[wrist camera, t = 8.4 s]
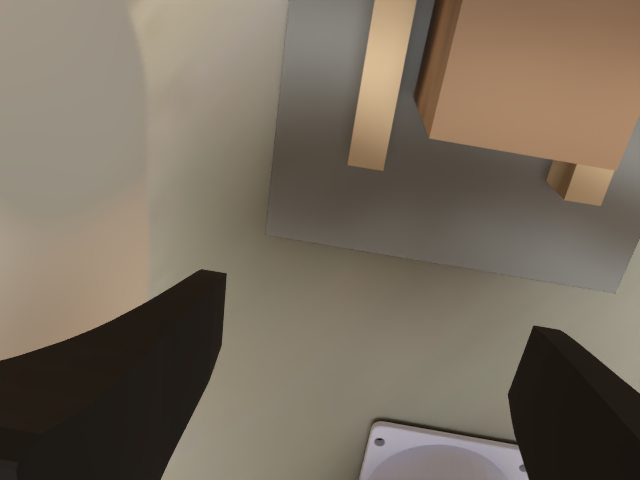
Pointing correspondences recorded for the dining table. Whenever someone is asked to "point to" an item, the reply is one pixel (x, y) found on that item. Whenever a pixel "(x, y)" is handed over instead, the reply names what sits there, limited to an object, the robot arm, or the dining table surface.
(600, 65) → the cabinet block
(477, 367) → the dining table surface
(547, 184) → the cradle
